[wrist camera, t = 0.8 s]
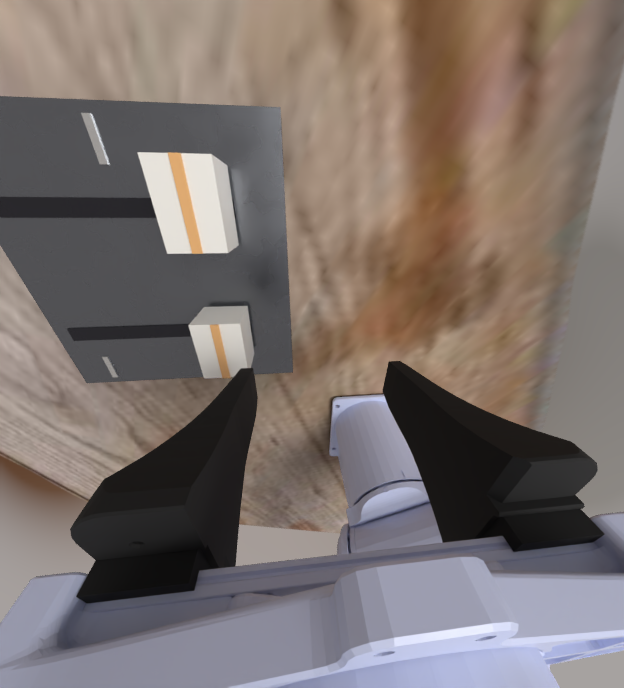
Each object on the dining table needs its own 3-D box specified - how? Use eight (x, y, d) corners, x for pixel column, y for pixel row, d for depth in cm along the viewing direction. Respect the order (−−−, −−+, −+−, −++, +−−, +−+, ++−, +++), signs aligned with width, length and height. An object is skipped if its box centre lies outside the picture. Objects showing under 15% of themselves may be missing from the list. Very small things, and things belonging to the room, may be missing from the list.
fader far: (254, 353, 18) (248, 377, 16) (215, 354, 18) (203, 379, 16) (247, 305, 16) (239, 324, 14) (204, 307, 16) (187, 326, 14)
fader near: (238, 245, 14) (227, 253, 12) (189, 245, 14) (166, 254, 12) (227, 165, 12) (210, 153, 10) (169, 164, 12) (136, 151, 10)
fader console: (292, 362, 22) (292, 373, 20) (99, 371, 20) (85, 383, 19) (280, 117, 13) (280, 106, 12) (-54, 105, 12) (-99, 91, 10)
